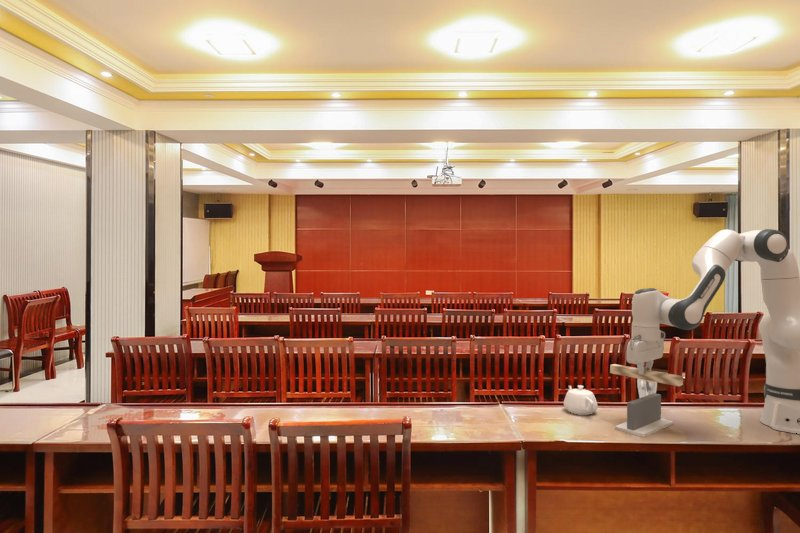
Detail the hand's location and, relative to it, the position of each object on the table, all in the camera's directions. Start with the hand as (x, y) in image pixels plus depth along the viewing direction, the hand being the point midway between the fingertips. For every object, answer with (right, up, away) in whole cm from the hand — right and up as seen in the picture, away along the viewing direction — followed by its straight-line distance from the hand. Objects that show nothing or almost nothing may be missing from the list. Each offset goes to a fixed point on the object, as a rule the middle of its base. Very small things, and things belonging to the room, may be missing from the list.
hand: (644, 373), depth 174 cm
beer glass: (+11, -19, +20) cm, 30 cm away
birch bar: (0, -2, 0) cm, 2 cm away
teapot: (-16, -19, +18) cm, 31 cm away
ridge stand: (0, -19, 0) cm, 19 cm away
